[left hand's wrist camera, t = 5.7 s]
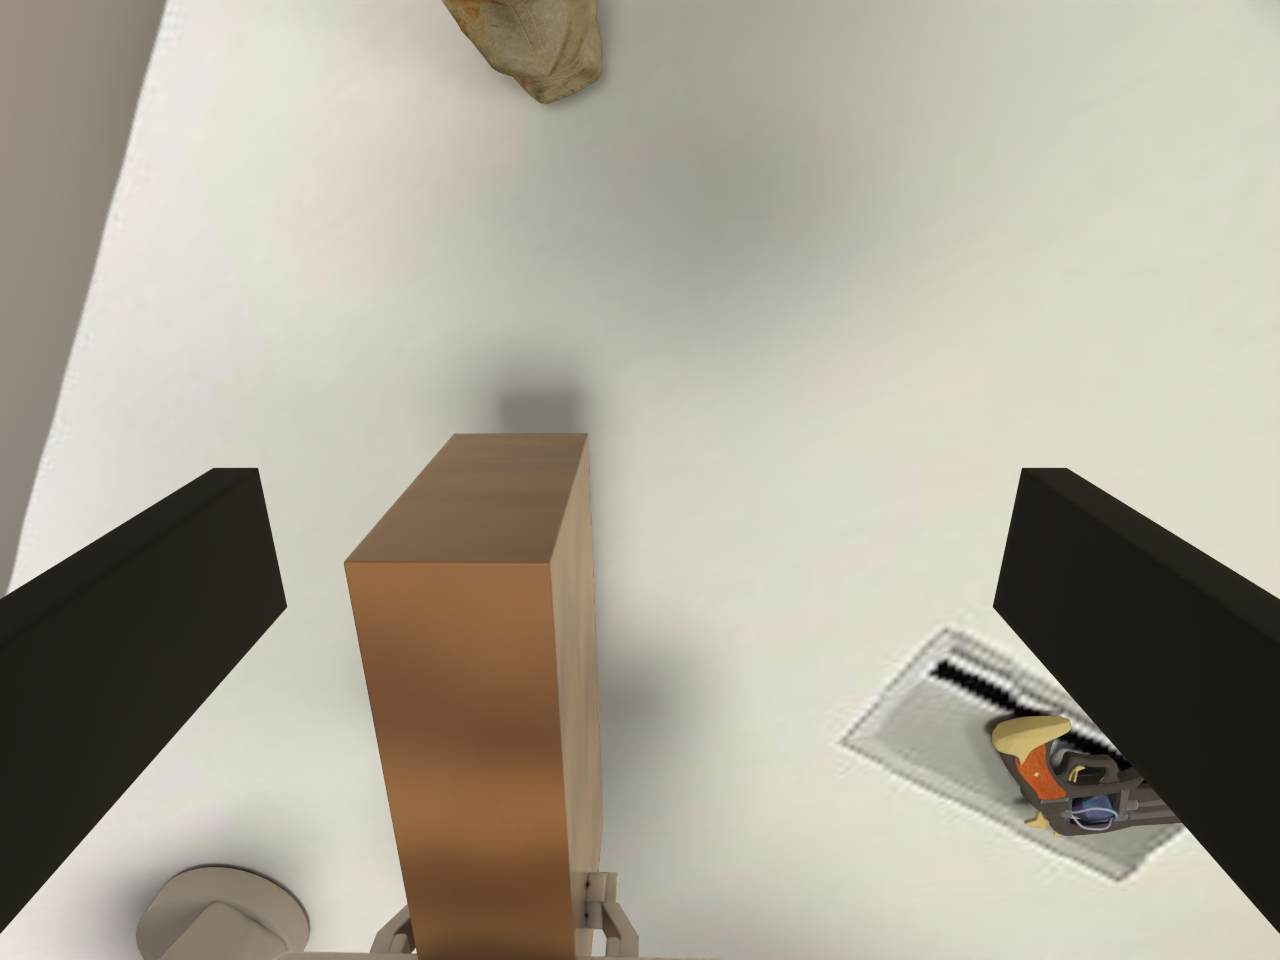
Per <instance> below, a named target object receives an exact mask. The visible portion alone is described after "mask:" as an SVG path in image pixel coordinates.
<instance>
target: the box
mask: <svg viewBox="0 0 1280 960" xmlns="http://www.w3.org/2000/svg"><path fill="white" fill-rule="evenodd" d="M344 567H345V572H346V577H347V583H348V588H349V593H350V599H351V604H352V609H353V615H354V620H355V625H356V631H357V636H358V641H359V647H360V652H361V657H362V663H363V668H364V673H365V679H366V684H367V689H368V695H369V700H370V705H371V711H372V716H373V721H374V727H375V732H376V737H377V743H378V748H379V753H380V759H381V764H382V769H383V775H384V780H385V785H386V791H387V796H388V801H389V807H390V812H391V817H392V823H393V828H394V833H395V839H396V844H397V849H398V855H399V860H400V865H401V871H402V876H403V881H404V887H405V892H406V897H407V903H408V908H409V913H410V919H411V924H412V929H413V934H414V940H415V945H416V950H417V956H418V960H577V957H578V956H583V957H591V952H592V940H593V929H588V928H587V925H586V907H585V899H586V890H587V887H588V885H587V880H588V873H589V872H599V861H600V849H601V838H602V827H603V808H602V782H601V756H600V730H599V704H598V678H597V652H596V626H595V600H594V574H593V549H592V523H591V497H590V471H589V445H588V434H454V435H453V436H452V437H451V438H450V439H449V440H448V442H447V443H446V444H445V445H444V446H443V447H442V449H441V450H440V451H439V452H438V453H437V454H436V456H435V457H434V458H433V459H432V460H431V461H430V463H429V464H428V465H427V466H426V467H425V468H424V470H423V471H422V472H421V473H420V474H419V475H418V477H417V478H416V479H415V480H414V481H413V482H412V484H411V485H410V486H409V487H408V488H407V489H406V490H405V492H404V493H403V494H402V495H401V496H400V497H399V499H398V500H397V501H396V502H395V503H394V504H393V506H392V507H391V508H390V509H389V510H388V511H387V513H386V514H385V515H384V516H383V517H382V518H381V520H380V521H379V522H378V523H377V524H376V525H375V527H374V528H373V529H372V530H371V531H370V532H369V533H368V535H367V536H366V537H365V538H364V539H363V540H362V542H361V543H360V544H359V545H358V546H357V547H356V549H355V550H354V551H353V552H352V553H351V554H350V556H349V557H348V558H347V559H346V560H345V562H344Z"/></svg>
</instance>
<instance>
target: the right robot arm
mask: <svg viewBox="0 0 1280 960" xmlns="http://www.w3.org/2000/svg"><path fill="white" fill-rule="evenodd" d="M587 885H588V887H587V890H586V899H585V907H586V925H587V928H588V929H603V931H604V933H605V935H606V937H607V944H606V956H605V957H583V956H578V957H577V960H723V959H715V958H644V957H639V937H638V935H637V933H636V932H635V930H634V928H633V927H632V925H631V923H630V922H629V920H628V918H627V916H626V915H625V913H624V911H623V910H622V908H621V906H620V905H619V903H618V873H607V872H589V873H588V880H587ZM415 948H416V945H415V940H414V934H413V929H412V924H411V919H410V913H409V908H408V904H407V905H406V906H405V907H404V908H403V909H402V910H401V911H400V912H399V913H398V914H396V915H395V916H394V917H393V918H392V919H391V920H390V921H389V922H388V923H387V924H386V925H385V926H384V927H383V928H382V929H381V930H379V931H378V932H377V935H376V937H375V940H374V942H373V945H372V948H371V950H370V953H344V952H283V953H281V954H279V955H278V956H276V957H275V958H274V959H272V960H418V956H417V954H411V953H412V952H413V950H414V949H415Z"/></svg>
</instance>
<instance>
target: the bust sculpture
mask: <svg viewBox="0 0 1280 960" xmlns="http://www.w3.org/2000/svg"><path fill="white" fill-rule="evenodd" d="M308 936H309V927H308V922H307V919H306V917H305V914H304V912H303V911H302V909H301V907H300V906H299V905H298V903H297V902H296V901H295V900H294V899H293V898H292V897H291V896H290V895H289V894H288V893H287V892H285V891H284V890H283V889H282V888H280V887H279V886H277V885H276V884H274V883H272V882H270V881H268V880H266V879H264V878H262V877H260V876H257V875H255V874H252V873H249V872H245V871H242V870H237V869H231V868H222V867H207V868H199V869H194V870H190V871H187V872H184V873H181V874H179V875H177V876H176V877H174V878H172V879H171V880H170V881H168V882H167V883H166V884H165V885H164V887H163V888H162V889H161V891H160V892H159V894H158V895H157V896H156V898H155V899H154V901H153V902H152V903H151V905H150V906H149V908H148V909H147V910H146V912H145V913H144V915H143V916H142V918H141V919H140V921H139V923H138V926H137V930H136V941H137V945H138V948H139V951H140V953H141V955H142V957H143V958H144V960H272V959H274V958H275V957H276V956H278V955H279V954H281V953H283V952H303V951H304V948H305V946H306V944H307V941H308Z"/></svg>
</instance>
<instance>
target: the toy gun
mask: <svg viewBox="0 0 1280 960" xmlns="http://www.w3.org/2000/svg"><path fill="white" fill-rule="evenodd" d="M1070 729H1071V723H1070V720H1069V719H1067V718H1064V717H1060V716H1030V717H1020V718H1015V719H1011V720H1007V721H1004V722H1001V723H999V724H998V725H997V726H996V728H995V729H994V731H993V733H992V744H993V746H994V747H995V748H996V749H997V750H998V751H999V753H1000V755H1001V757H1002V760H1003V762H1004V764H1005V765H1006V767H1007V769H1008V770H1009V772H1010V773H1011V774H1012V776H1013V777H1014V778H1015V779H1016V781H1017V782H1018V783H1019V785H1020V789H1021V793H1022V794H1023V795H1024V797H1025V798H1026V799H1027V800H1029V801H1030V802H1031V804H1032V805H1033V806H1034V807H1035V808H1036V809H1038V810H1037V812H1036V815H1035V817H1034V818H1032V819H1029V820H1026V821H1024V822H1025V824H1026V825H1027V826H1029V827H1038V828H1041V829H1043V830H1046V825H1047V824H1050V826H1051V827H1052V828H1053V829H1054V837H1057V836H1062V835H1065V836H1074V835H1086V834H1097V833H1105V832H1110V831H1115V830H1119V829H1123V828H1127V827H1131V826H1139V825H1155V824H1171V823H1182V822H1181V821H1180V820H1179V819H1178V817H1177V816H1176V815H1175V814H1174V813H1173V812H1172V811H1171V809H1170V808H1169V807H1168V806H1167V805H1166V804H1165V803H1164V801H1163V800H1162V799H1161V798H1160V797H1159V796H1158V795H1157V793H1156V792H1155V791H1154V790H1153V789H1152V788H1151V787H1150V785H1149V784H1148V783H1147V784H1140V783H1141V782H1142V781H1143V780H1144V779H1143V777H1142V776H1141V775H1140V774H1139V773H1138V772H1137V771H1136V770H1135V768H1134V767H1132V768H1129V769H1127V770H1124V771H1120V772H1118V766H1117V764H1116V762H1115V761H1114V760H1113V759H1112V758H1110V757H1109V756H1108V755H1106V754H1101V755H1085V754H1079V753H1074V752H1069V751H1067V752H1065V753H1064V756H1063V759H1062V761H1061V763H1060V765H1059V766H1058V768H1057V769H1055V770H1053V769H1052V766H1051V764H1050V761H1049V753H1050V749H1051V746H1052V743H1053V741H1054V739H1055V738H1058V737H1060V736H1061V735H1063V734H1065V733H1067V732H1068V731H1069V730H1070ZM1073 765H1074V767H1073ZM1084 766H1089V767H1100V769H1099V771H1098V772H1097V773H1096V774H1095V775H1090V776H1078V777H1077V773H1078V771H1079V770H1082V769H1085V767H1084ZM1072 767H1073V768H1072ZM1071 768H1072V769H1071ZM1070 769H1071V770H1070ZM1069 771H1070V772H1069ZM1068 773H1069V774H1068ZM1072 774H1073V776H1072ZM1072 798H1075V799H1074V800H1073V801H1072ZM1073 815H1074V816H1076V817H1078V818H1080V819H1076V818H1075V817H1074V816H1073ZM1070 817H1072V818H1073V819H1070Z"/></svg>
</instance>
